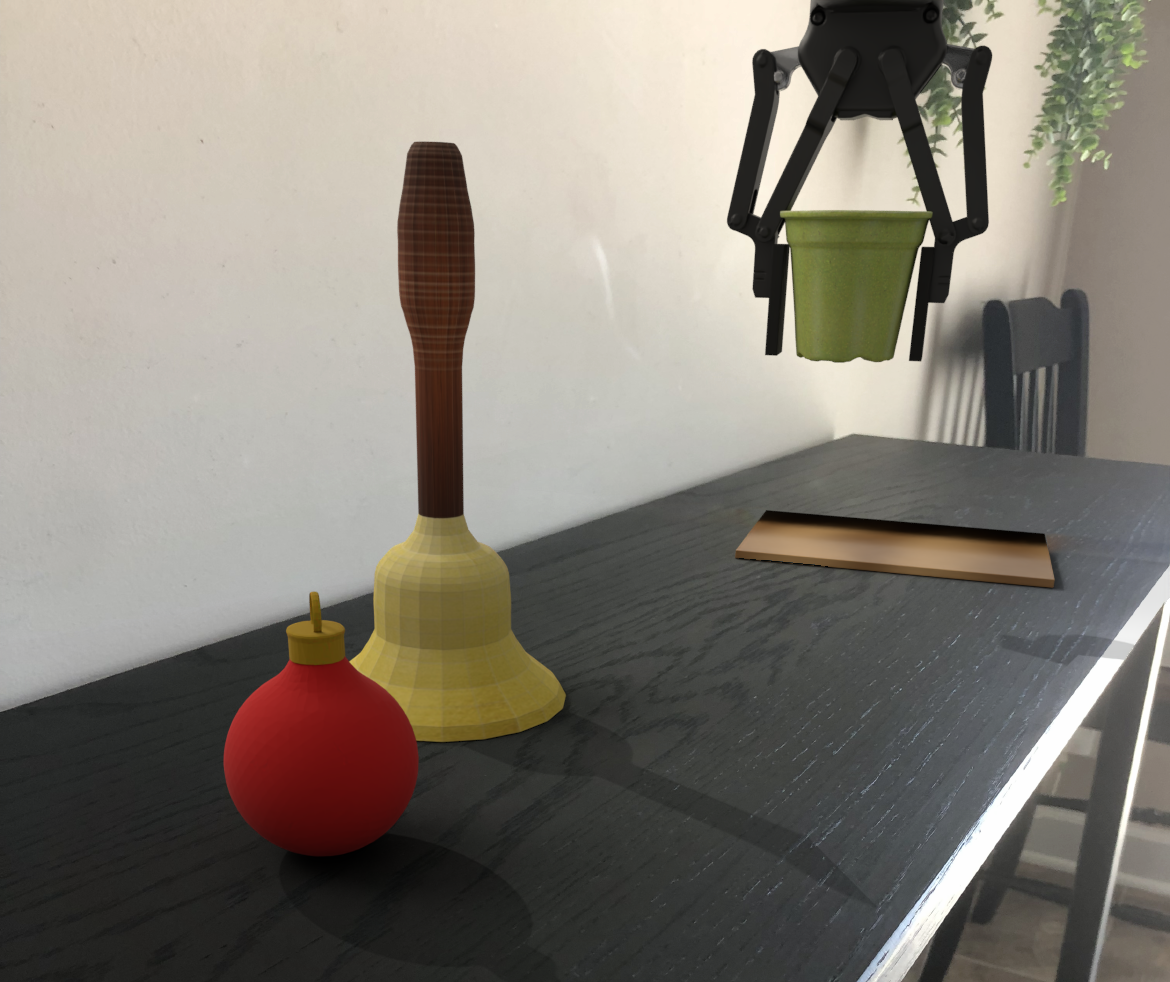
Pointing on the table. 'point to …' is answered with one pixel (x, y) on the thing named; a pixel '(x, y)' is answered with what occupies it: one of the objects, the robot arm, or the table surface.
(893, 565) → the wooden board
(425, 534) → the handbell
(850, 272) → the plant pot
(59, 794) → the table surface
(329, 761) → the christmas ornament
